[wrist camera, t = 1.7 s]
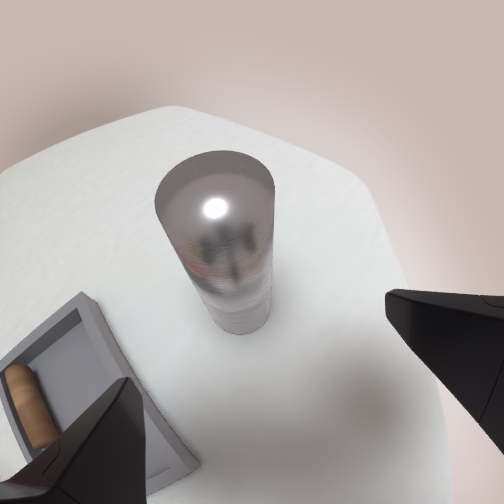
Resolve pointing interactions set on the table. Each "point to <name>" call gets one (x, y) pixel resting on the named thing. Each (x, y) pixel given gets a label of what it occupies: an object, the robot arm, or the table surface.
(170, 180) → the sleeve
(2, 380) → the tray
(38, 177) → the table surface
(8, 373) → the rod
